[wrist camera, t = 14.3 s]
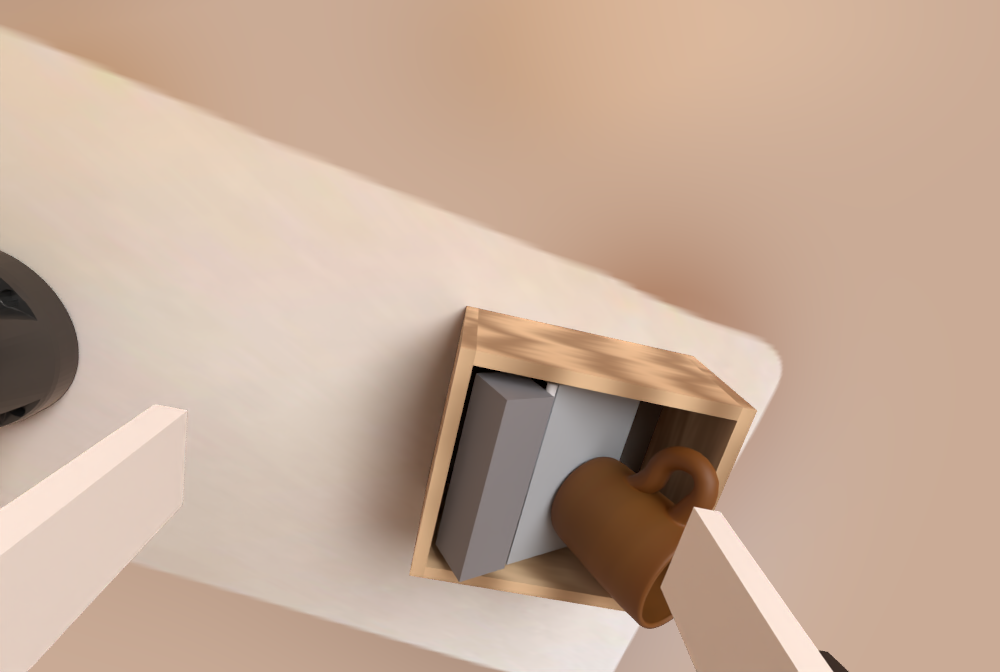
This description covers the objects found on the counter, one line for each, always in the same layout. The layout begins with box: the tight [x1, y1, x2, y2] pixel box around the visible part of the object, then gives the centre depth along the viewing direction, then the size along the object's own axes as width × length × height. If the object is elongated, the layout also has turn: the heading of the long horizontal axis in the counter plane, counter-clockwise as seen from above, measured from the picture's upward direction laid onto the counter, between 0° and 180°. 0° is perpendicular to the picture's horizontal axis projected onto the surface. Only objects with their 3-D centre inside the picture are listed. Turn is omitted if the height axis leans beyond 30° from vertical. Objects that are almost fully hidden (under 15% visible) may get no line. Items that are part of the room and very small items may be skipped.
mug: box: [551, 446, 719, 629], centre depth 35 cm, size 12×8×9 cm
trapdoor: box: [436, 373, 640, 582], centre depth 37 cm, size 14×15×4 cm
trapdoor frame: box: [410, 306, 757, 611], centre depth 39 cm, size 20×18×10 cm
